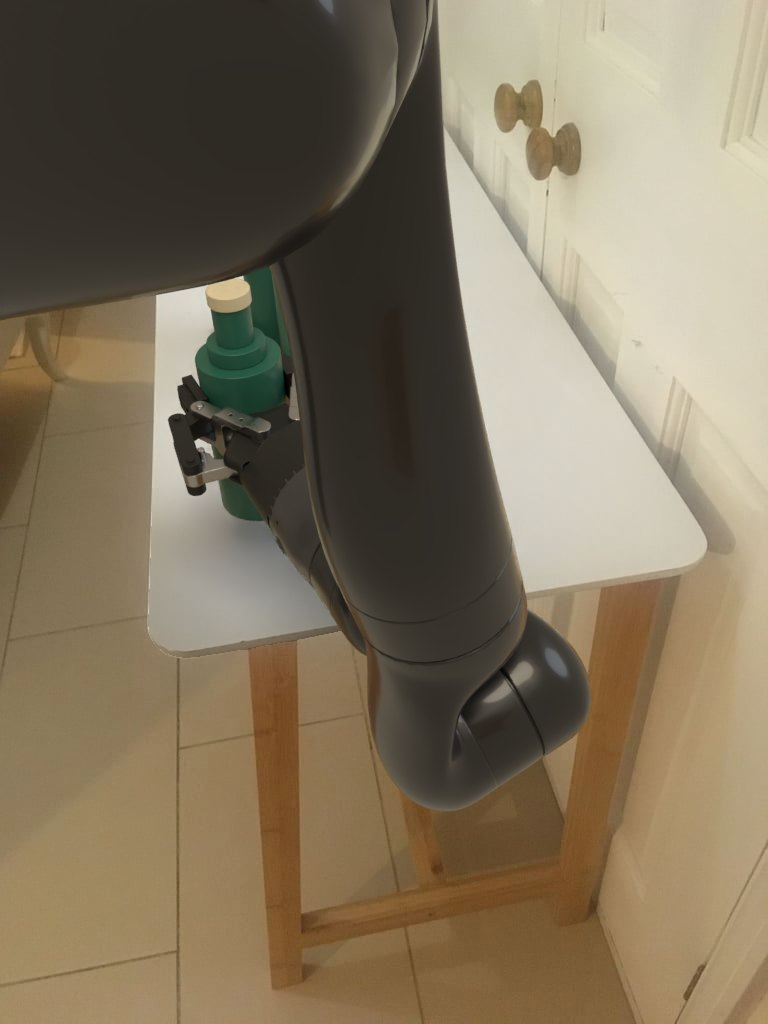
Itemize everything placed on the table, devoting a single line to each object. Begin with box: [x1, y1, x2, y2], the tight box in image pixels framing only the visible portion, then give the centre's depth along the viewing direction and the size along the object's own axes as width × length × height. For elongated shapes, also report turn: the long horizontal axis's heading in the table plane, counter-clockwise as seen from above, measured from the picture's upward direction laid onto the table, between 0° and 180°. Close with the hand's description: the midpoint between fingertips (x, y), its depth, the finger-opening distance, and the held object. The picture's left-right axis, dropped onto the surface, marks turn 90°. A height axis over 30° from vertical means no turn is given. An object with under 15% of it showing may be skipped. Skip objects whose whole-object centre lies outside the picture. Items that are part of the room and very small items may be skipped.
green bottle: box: [194, 278, 287, 522], centre depth 63 cm, size 6×6×18 cm
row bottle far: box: [242, 266, 281, 347], centre depth 87 cm, size 6×6×18 cm
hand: (230, 374), depth 64 cm, fingers closed on green bottle, 6 cm apart
